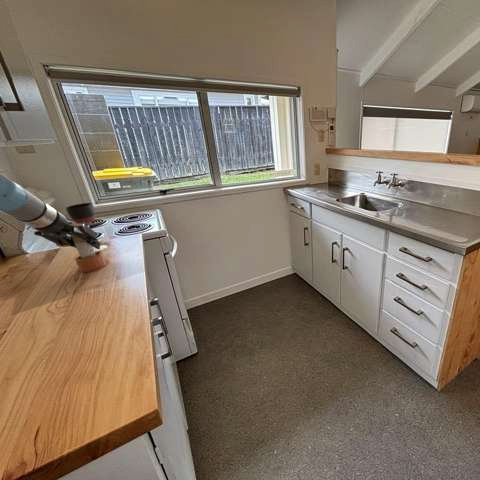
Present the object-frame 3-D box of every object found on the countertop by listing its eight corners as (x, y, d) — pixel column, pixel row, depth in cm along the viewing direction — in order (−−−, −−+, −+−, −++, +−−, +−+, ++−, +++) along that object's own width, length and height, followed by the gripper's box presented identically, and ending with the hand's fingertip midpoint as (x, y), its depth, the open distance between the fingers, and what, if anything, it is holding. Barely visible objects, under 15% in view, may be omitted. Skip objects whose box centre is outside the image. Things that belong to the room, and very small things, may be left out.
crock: (79, 267, 98) (74, 256, 97) (105, 260, 103) (100, 249, 101) (81, 274, 93) (75, 262, 91) (107, 266, 98) (102, 255, 96)
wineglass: (80, 252, 113) (60, 208, 105) (100, 244, 121) (82, 202, 113) (94, 253, 111) (74, 208, 103) (113, 245, 119) (96, 203, 111)
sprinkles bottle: (91, 259, 100) (76, 226, 94) (101, 259, 99) (87, 226, 94) (80, 264, 95) (64, 231, 90) (91, 264, 95) (75, 230, 90)
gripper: (4, 233, 74) (63, 260, 95) (76, 224, 79) (116, 252, 100) (9, 211, 77) (65, 241, 98) (78, 204, 82) (117, 234, 102)
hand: (91, 246), depth 99 cm, fingers closed on sprinkles bottle, 4 cm apart
